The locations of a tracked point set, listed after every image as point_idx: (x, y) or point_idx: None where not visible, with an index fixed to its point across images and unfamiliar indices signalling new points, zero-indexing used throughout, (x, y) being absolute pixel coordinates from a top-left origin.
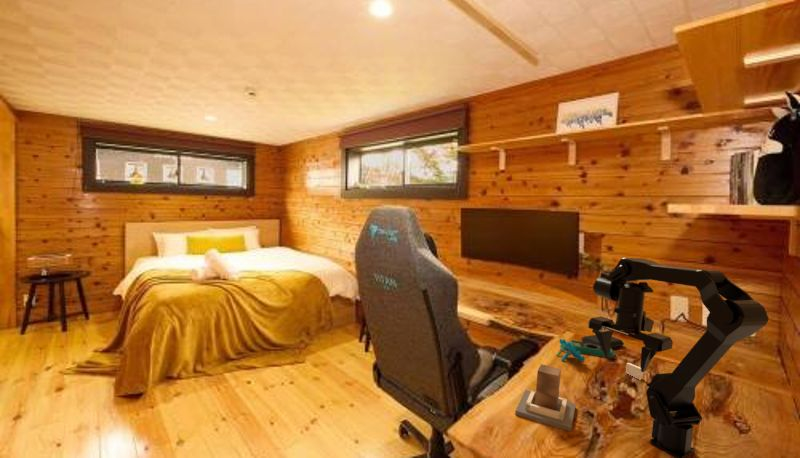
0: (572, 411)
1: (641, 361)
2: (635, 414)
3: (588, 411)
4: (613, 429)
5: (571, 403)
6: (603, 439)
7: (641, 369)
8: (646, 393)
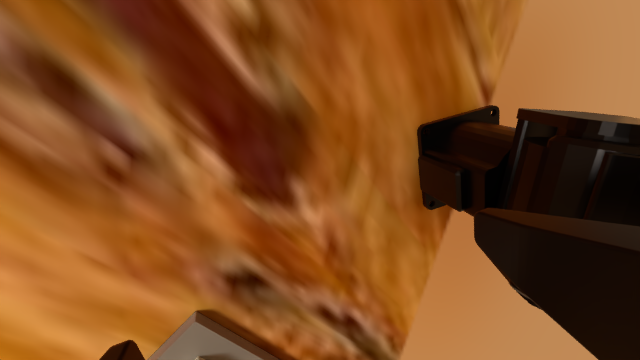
0: (247, 356)
1: (587, 343)
2: (286, 98)
3: (230, 277)
4: (343, 262)
5: (191, 335)
6: (371, 319)
7: (496, 258)
8: (518, 290)
